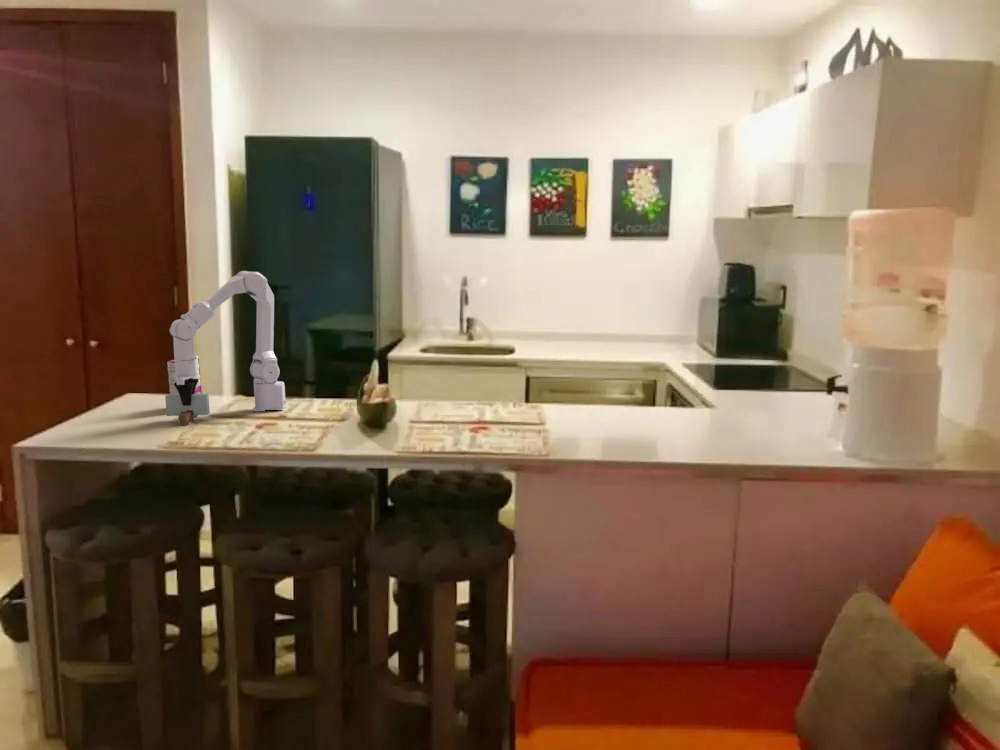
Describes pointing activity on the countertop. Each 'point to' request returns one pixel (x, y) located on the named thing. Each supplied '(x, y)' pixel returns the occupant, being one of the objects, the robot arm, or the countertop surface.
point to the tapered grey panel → (197, 405)
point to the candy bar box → (172, 379)
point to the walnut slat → (186, 417)
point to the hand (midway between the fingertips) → (188, 404)
